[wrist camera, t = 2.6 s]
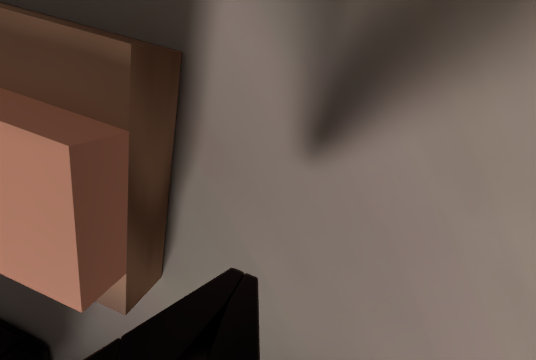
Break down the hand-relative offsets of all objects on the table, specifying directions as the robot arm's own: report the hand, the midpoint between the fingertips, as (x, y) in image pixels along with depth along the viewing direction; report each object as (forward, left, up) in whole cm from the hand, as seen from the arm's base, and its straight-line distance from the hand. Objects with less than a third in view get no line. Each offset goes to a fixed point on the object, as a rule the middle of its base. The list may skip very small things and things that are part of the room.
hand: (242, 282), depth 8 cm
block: (0, +9, -1) cm, 9 cm away
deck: (0, +10, -4) cm, 11 cm away
